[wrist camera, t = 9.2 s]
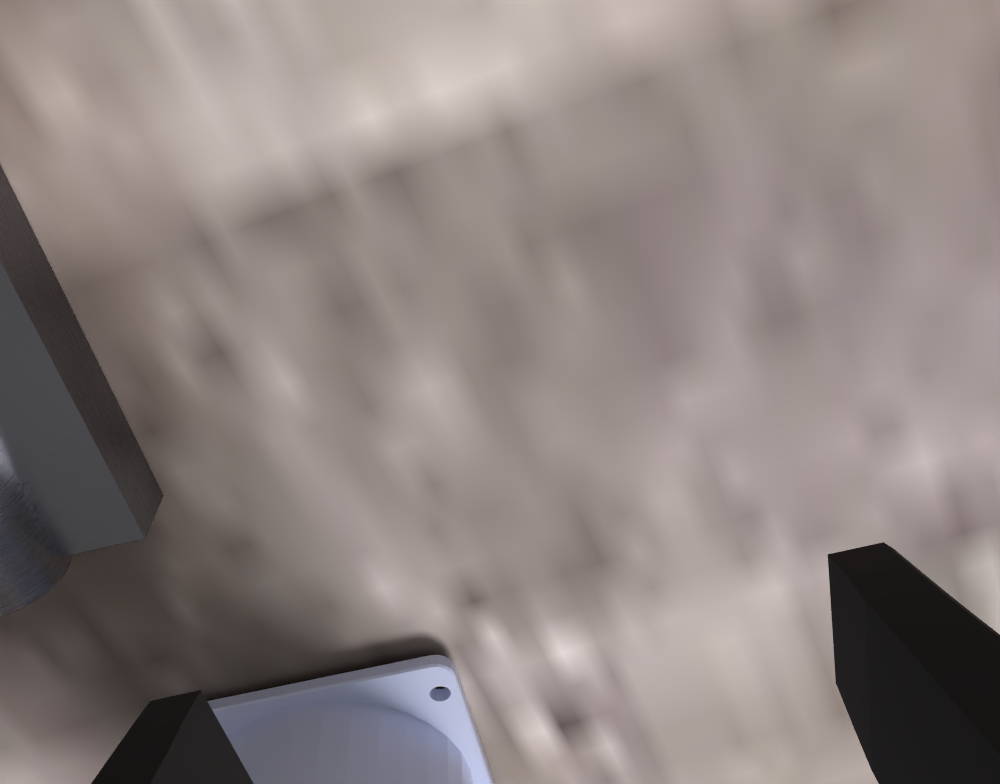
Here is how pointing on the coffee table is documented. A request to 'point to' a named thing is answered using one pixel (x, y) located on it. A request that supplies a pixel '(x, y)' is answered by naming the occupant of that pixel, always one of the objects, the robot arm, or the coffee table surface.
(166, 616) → the coffee table surface
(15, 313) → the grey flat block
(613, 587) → the coffee table surface
